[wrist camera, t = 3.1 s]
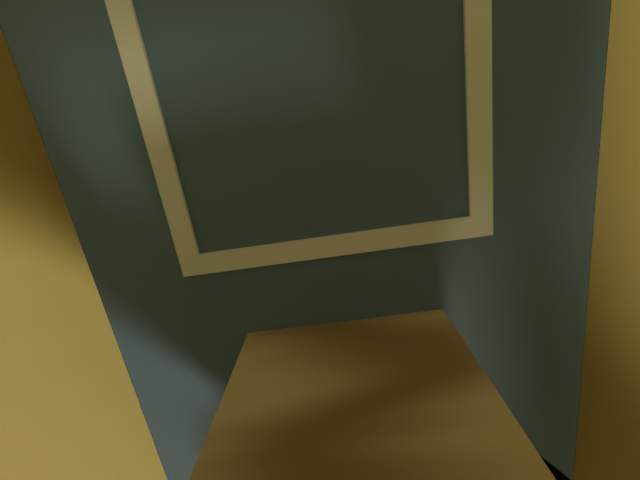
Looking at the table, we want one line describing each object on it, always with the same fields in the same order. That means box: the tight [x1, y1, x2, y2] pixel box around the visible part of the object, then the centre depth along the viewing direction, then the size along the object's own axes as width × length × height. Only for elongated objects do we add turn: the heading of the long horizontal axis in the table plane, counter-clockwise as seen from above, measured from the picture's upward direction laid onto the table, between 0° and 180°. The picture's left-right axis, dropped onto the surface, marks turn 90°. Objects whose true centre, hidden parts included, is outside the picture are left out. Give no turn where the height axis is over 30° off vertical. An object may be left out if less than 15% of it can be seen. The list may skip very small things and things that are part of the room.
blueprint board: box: [0, 0, 611, 480], centre depth 10 cm, size 12×25×1 cm, turn 9°
